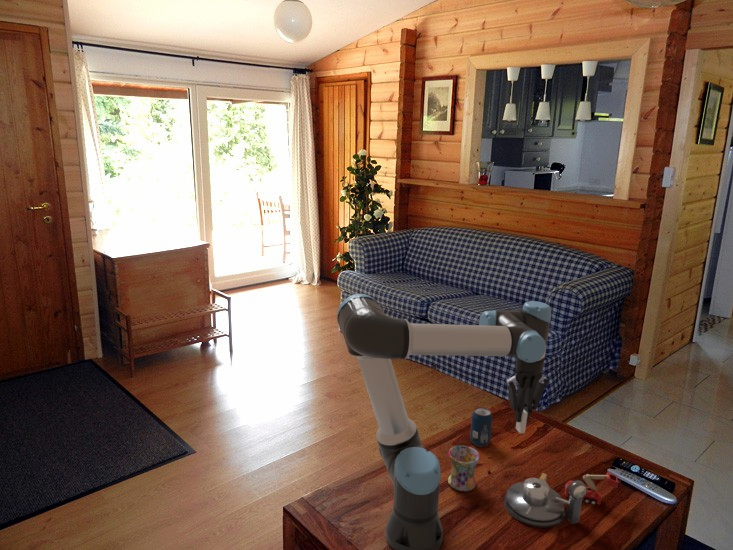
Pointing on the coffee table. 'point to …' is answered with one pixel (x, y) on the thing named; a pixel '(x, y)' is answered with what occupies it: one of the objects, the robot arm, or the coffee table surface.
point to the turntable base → (532, 523)
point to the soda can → (481, 427)
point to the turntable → (532, 513)
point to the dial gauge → (574, 500)
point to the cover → (535, 492)
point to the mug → (463, 467)
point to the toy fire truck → (594, 487)
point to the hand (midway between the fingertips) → (520, 430)
